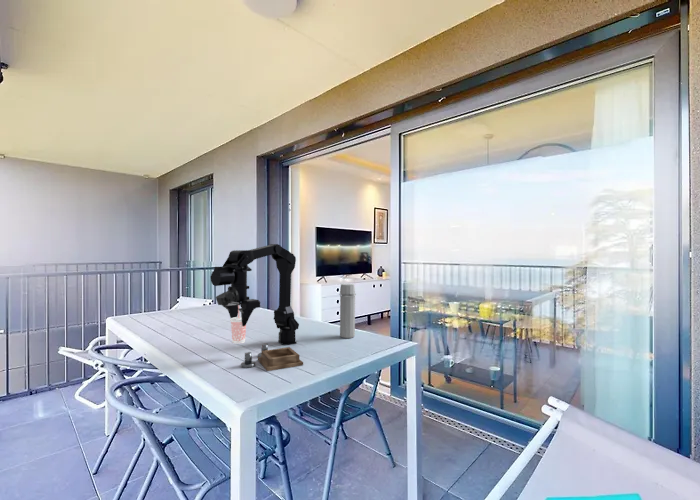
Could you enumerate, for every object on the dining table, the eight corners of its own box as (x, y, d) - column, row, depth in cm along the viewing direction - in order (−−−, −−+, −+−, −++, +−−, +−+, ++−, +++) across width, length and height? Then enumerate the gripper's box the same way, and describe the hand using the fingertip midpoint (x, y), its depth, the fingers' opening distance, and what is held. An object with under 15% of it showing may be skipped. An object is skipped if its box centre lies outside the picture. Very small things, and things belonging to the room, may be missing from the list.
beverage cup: (233, 339, 131) (233, 303, 130) (249, 339, 130) (249, 303, 130) (227, 344, 124) (227, 306, 124) (243, 344, 124) (243, 306, 124)
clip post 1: (253, 362, 123) (253, 350, 123) (257, 366, 119) (257, 354, 119) (239, 364, 121) (239, 352, 121) (242, 369, 116) (242, 356, 116)
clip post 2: (269, 353, 134) (269, 342, 134) (272, 356, 130) (272, 345, 130) (256, 355, 132) (256, 343, 132) (259, 358, 127) (259, 347, 127)
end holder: (291, 355, 132) (291, 346, 132) (303, 365, 121) (303, 355, 121) (257, 360, 126) (257, 350, 126) (267, 371, 115) (267, 360, 115)
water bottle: (340, 334, 165) (340, 283, 165) (356, 335, 164) (356, 283, 164) (337, 339, 156) (337, 285, 156) (354, 340, 155) (354, 285, 155)
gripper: (205, 283, 127) (205, 325, 127) (234, 287, 115) (234, 333, 115) (231, 281, 135) (231, 320, 136) (261, 284, 124) (261, 327, 124)
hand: (238, 324), depth 127 cm, fingers closed on beverage cup, 6 cm apart
